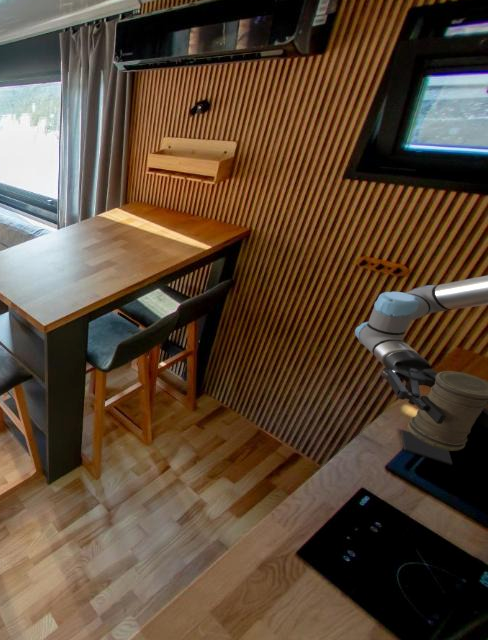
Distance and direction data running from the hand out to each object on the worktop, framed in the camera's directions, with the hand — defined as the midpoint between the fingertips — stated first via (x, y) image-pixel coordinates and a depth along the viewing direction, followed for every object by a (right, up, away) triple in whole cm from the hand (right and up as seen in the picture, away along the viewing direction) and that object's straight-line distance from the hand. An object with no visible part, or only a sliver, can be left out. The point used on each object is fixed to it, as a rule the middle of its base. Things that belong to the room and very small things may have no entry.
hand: (467, 422), depth 83 cm
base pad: (+13, -14, +17) cm, 26 cm away
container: (+3, -7, +8) cm, 11 cm away
